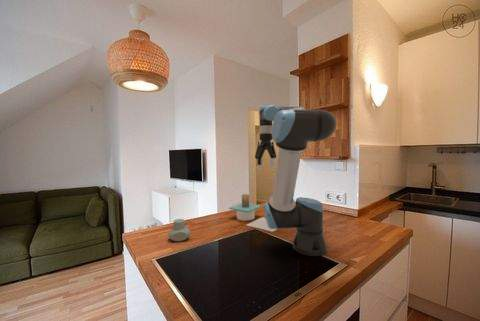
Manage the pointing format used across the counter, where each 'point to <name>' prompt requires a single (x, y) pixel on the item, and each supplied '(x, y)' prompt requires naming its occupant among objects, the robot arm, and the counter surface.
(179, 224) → the air freshener
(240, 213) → the bowl
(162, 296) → the counter surface
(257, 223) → the mat
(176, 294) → the counter surface
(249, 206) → the lid
